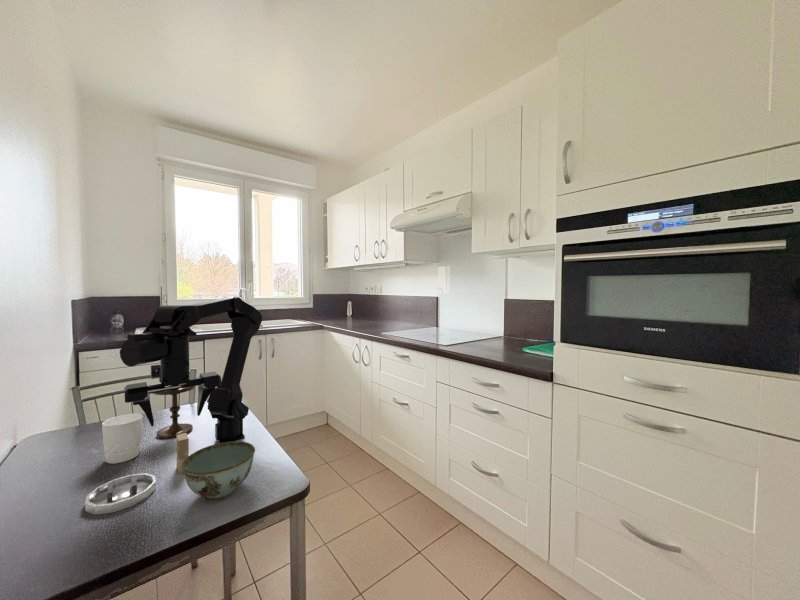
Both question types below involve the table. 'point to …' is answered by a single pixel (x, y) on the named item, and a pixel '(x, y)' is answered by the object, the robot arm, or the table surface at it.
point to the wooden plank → (182, 450)
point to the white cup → (122, 437)
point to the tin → (120, 493)
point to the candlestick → (174, 416)
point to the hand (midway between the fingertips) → (176, 420)
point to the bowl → (218, 469)
